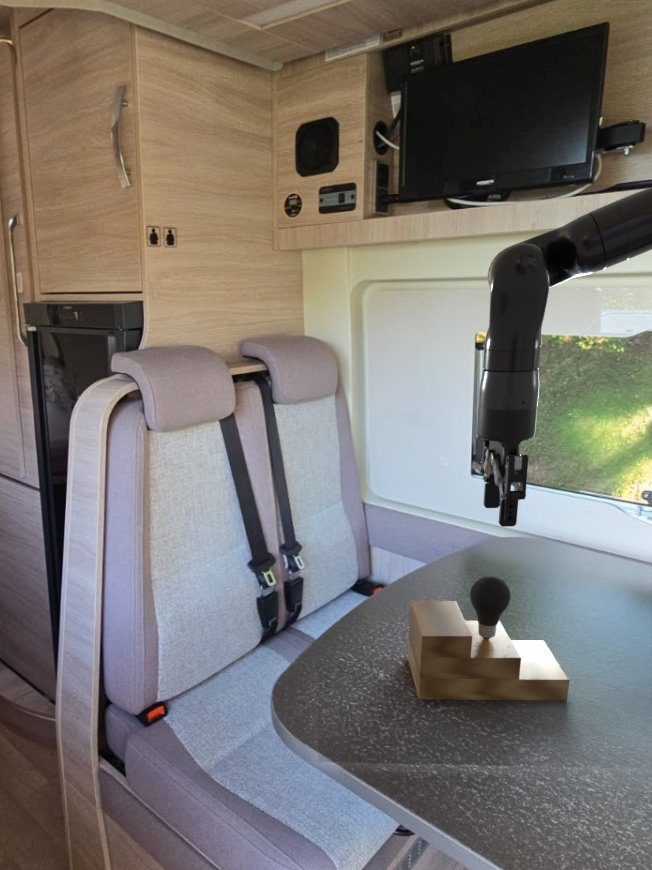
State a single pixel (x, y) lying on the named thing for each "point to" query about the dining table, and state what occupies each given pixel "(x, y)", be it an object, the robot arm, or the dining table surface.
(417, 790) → the dining table surface
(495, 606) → the light bulb
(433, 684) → the step shelf
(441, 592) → the dining table surface
